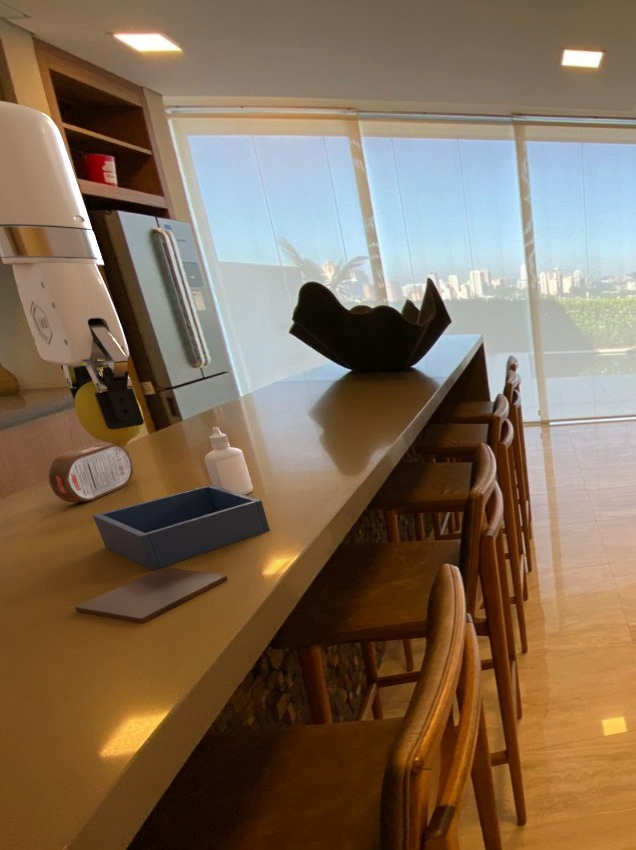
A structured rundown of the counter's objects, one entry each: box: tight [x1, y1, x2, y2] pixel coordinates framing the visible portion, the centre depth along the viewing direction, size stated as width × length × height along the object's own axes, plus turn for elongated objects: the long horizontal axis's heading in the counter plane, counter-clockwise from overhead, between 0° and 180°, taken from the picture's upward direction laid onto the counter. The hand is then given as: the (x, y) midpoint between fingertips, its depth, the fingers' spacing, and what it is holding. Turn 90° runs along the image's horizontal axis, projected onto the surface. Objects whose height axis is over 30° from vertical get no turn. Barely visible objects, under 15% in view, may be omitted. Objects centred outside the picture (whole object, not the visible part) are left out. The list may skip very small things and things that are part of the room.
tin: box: [48, 442, 134, 503], centre depth 98 cm, size 15×3×8 cm, turn 6°
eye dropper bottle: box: [204, 426, 254, 496], centre depth 96 cm, size 4×6×12 cm
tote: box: [92, 484, 271, 571], centre depth 80 cm, size 15×15×5 cm
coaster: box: [74, 566, 228, 624], centre depth 66 cm, size 10×10×1 cm
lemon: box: [74, 380, 145, 448], centre depth 64 cm, size 6×6×8 cm
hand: (113, 422), depth 64 cm, fingers closed on lemon, 5 cm apart
